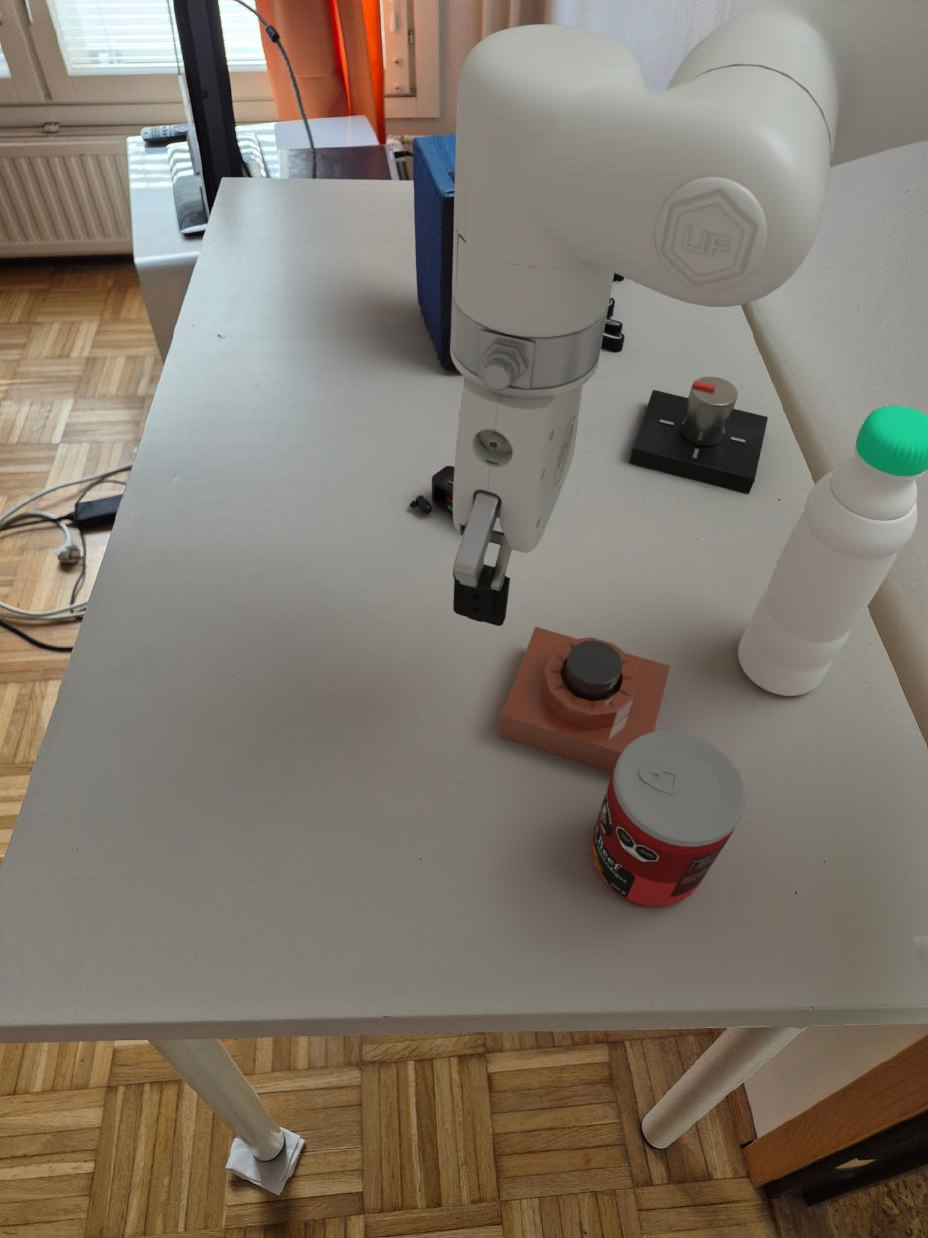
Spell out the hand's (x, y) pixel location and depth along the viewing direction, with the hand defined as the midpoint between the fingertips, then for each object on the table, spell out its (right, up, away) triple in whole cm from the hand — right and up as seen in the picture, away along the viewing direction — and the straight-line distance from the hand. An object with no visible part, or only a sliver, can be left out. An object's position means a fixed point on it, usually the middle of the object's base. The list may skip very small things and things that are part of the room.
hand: (503, 561), depth 57 cm
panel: (+21, +14, +33) cm, 42 cm away
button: (+7, -8, +9) cm, 14 cm away
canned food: (+10, -21, +5) cm, 24 cm away
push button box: (+7, -11, +13) cm, 18 cm away
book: (-4, +28, +43) cm, 52 cm away
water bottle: (+24, -8, +16) cm, 30 cm away
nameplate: (+12, +37, +51) cm, 65 cm away
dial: (+21, +15, +31) cm, 41 cm away
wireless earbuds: (-4, +6, +26) cm, 27 cm away
